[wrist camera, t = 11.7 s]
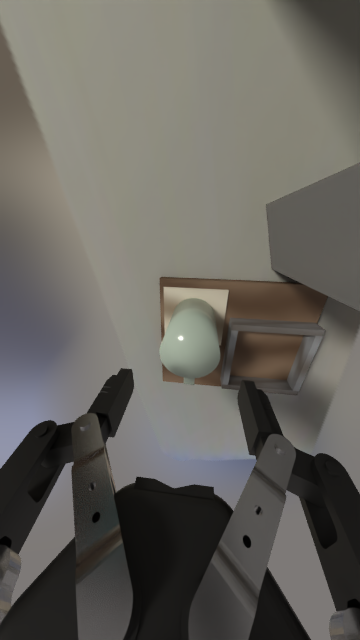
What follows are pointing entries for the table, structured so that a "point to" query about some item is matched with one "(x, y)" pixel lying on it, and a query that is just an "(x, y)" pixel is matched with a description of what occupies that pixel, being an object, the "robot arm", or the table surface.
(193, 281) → the wooden panel with label
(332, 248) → the perfume bottle
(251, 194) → the table surface
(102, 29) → the table surface
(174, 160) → the table surface
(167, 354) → the pale green rounded piece
